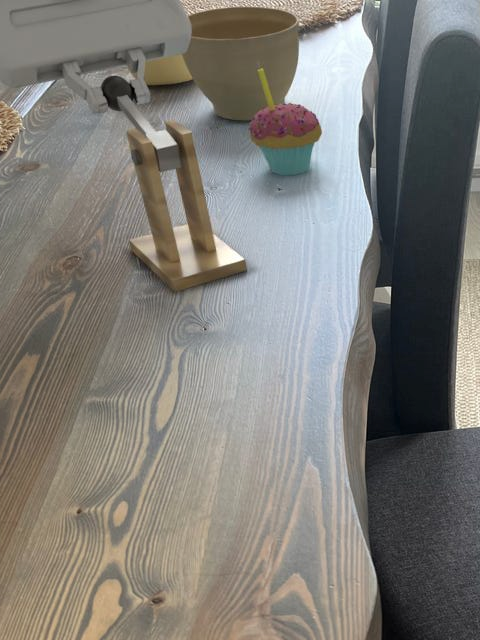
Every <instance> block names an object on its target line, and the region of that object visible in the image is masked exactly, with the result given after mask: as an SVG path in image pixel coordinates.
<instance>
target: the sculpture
mask: <svg viewBox="0 0 480 640" xmlns="http://www.w3.org/2000/svg"><path fill="white" fill-rule="evenodd" d="M187 15H189V14H188V13H187ZM125 68H126V70H127V71H128V72H129V73H130V74H131V77H133V78H134V80H135V79H137V72H136V73H131V71H130V69H129V67H128V65H127V66H125ZM192 80H193V78H192V76H191V74H190V73H189V71H188V69H187V66H186V64H185V61H184V59H183V56H182V54H181V55H176V56H171V57H166V58H161V59H156V60H151V61H146V63H145V74H144V81H145V83H146V85H147V86H163V85H173V84H175V85H176V84H180V83H181V84H182V83H185V82H188V81H189V82H190V81H192Z"/></svg>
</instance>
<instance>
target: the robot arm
mask: <svg viewBox="0 0 480 640" xmlns="http://www.w3.org/2000/svg"><path fill="white" fill-rule="evenodd" d="M187 14H188V13H187V11H186V9H185V8H184V5H183V3H182V1H181V0H0V83H2V84H4V85H5V86H6V87H8V88H10V89H18V88H19V89H20V88H24V87H29V86H33V85H38V84H43V83H49V82H54V81H58V80H64V82H65V84H66V86H67V88H68V89H70V90H71V91H72V92H74V94H76V95H78V96H79V97H80V98H81V99H83V100H84V101H86V103H87V105H88V107H89V110H90V111H91V113H92V114H93V115H97V114H98V115H99V114H102V113H107V112H108V108H109V107H108V103H107V100H106V98H105V97H104V96H103V91H102V89H101V86H98V87H97V86H96V87H92V86H91V85H90V84H89V83H88V82H87V81H85V80H84V79H83V78H82V75H83V76H84V75H87V74H92V73H97V72H101V71H102V72H103V71H106V70H113V69H116V68H121V67H126V66H127V65H128V67H129V69H130V71H131V73H136V72H137V79H135V78H134V79H131V80H129V82H128V83H129V84H130V86H131V88H132V90H133V103H134V104H135V106H139V105H144V104H148V103H150V102H151V91H150V89H149V87H148V85H146V83H145V81H144V74H145V63H146V61H151V60H156V59H161V58H166V57H171V56H176V55H181V54H184V53H186V52H187V49H188V47H189V44H190V40H191V34H192V26H191V22H190V20H189V17H188V15H189V14H188V15H187ZM131 73H130V74H131Z"/></svg>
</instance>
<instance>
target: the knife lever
mask: <svg viewBox="0 0 480 640" xmlns="http://www.w3.org/2000/svg"><path fill="white" fill-rule="evenodd" d="M129 83H130V82H128V81H127V80H126V79H125V78H123V77H122V76H120V75H109V76H107V77H106V78H104V79H103V81H102V82H101V84H100V87H101V89H102V91H103V96H104V97H105V98H106V100H107V103H108V108H109V109H110V110H112V111H116V112H122V113H123V114H124V115H125V117H127V119H128V120H129V122H130V123H131V124H132V125H133V127H134V129H136V130H138V131H139V132H140V133H141V134H143V135H144V136H145V137H147V138H148V139H149V140H151V141H152V143H153V147H154V151H155V156H156V160H157V164H158V168H159V172H160V173H164V172H168V171H173V170H175V169H177V168H181V162H180V155H179V148H178V144H177V143H176V141H175V140H174V139H173V138H172V137H171V135H170V134H169V133H168V132H167V130H166V129H162V130H156V128H154V126H153V125H152V124H151V123H150V121H149V120H148V119H147V118H146V116H145V115H144V114H143V113H142V112H141V110H140V109H139V107H138V106H137V105H135V103H134V101H133V100H134V98H133V90H132V88H131V86H130V84H129Z"/></svg>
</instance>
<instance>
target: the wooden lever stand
mask: <svg viewBox="0 0 480 640" xmlns="http://www.w3.org/2000/svg"><path fill="white" fill-rule="evenodd" d="M164 125H165V130H167V132H168V133H169V134H170V135H171V137H172V138H173V139H174V140H175V141H176V143H177V144H178V148H179V155H180V162H181V168H177V169H174V170H175V173H176V179H177V183H178V187H179V191H180V196H181V200H182V204H183V209H184V213H185V218H186V223H187V224H186V223H185V224H182V225H178V226H175V227H173V224H172V219H171V215H170V211H169V206H168V202H167V198H166V194H165V189H164V186H163V182H162V177H161V172H160V171H159V168H158V164H157V160H156V156H155V151H154V147H153V143H152V141H151V140H149V139H148V138H147V137H145V136H144V135H143V134H141V133H140V132H139V131H138V130H137V129H136V128H132V129H127V130H126V131H125V133H126V138H127V141H128V145H129V149H130V156H131V159H132V162H133V165H134V169H135V172H136V177H137V181H138V184H139V188H140V189H139V190H140V193H141V197H142V201H143V204H144V209H145V213H146V216H147V220H148V224H149V228H150V231H151V232H150V234H146V235H145V234H144V235H142V236H139V237H135V238H131V239H129V240H128V242H129V246H130V249H131V250H130V251H132V253H134V255H136V256H137V258H139V259H140V260H141V261H142V262H143V263H144V264H145V265H146V266H147V267H148V268H149V269H150V270H151V271H152V272H153V273H155V274H156V276H158V277H159V278H160V280H162V281H163V282H164V283H165V284H166V285H167V286H168V287H169V288H170V289H171V290H172V291H173V292H175V293H176V292H180V291H182V290H185V289H189V288H192V287H196V286H200V285H203V284H206V283H207V284H208V283H209V282H213V281H216V280H219V279H223V278H228V277H230V276H232V275H237V274H240V273H243V272H247V271H248V267H247V261H246V259H245V258H244V257H243V256H242V255H241V254H239V253H238V252H236V250H234V249H233V248H232V247H231V246H230V245H228V244H227V243H226V242H225V241H223V240H222V239H221V238H220V237H218V236H217V235H216V234H215V233H214V232H213V227H212V222H211V217H210V213H209V209H208V204H207V203H208V202H207V199H206V193H205V189H204V185H203V178H202V175H201V170H200V166H199V159H198V156H197V151H196V145H195V141H194V137H193V132H192V131H190V130H189V129H188V128H186V127H185V126H183V125H182V124H181V123H179V122H177V121H176V120H175V119H173V120H172V119H171V120H168V121H167V120H166V121H165V122H164Z"/></svg>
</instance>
